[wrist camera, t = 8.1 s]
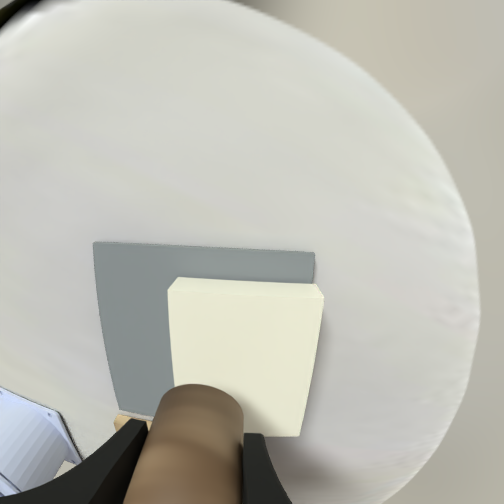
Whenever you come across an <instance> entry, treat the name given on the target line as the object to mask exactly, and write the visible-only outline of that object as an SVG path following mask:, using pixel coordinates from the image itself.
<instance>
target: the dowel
mask: <svg viewBox="0 0 504 504" xmlns="http://www.w3.org/2000/svg"><path fill="white" fill-rule="evenodd" d="M243 429H244V415H243V411H242V408H241V407H240V405H239V404H238V402H237V401H236V400H235V399H234V398H233V397H232V396H230V395H229V394H227V393H226V392H224V391H222V390H220V389H218V388H215V387H212V386H208V385H203V384H184V385H179V386H176V387H174V388H172V389H170V390H168V391H167V392H166V393H165V394H164V395H163V396H162V398H161V400H160V403H159V405H158V408H157V411H156V413H155V416H154V419H153V421H152V424H151V427H150V429H149V432H148V435H147V437H146V440H145V443H144V445H143V448H142V451H141V454H140V456H139V459H138V462H137V465H136V468H135V470H134V473H133V476H132V479H131V482H130V484H129V487H128V490H127V493H126V496H125V499H124V502H123V504H242V491H243V467H242V463H243Z"/></svg>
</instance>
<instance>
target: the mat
mask: <svg viewBox="0 0 504 504" xmlns="http://www.w3.org/2000/svg"><path fill="white" fill-rule="evenodd" d="M93 256H94V269H95V280H96V289H97V298H98V306H99V313H100V320H101V326H102V333H103V338H104V344H105V349H106V355H107V360H108V364H109V369H110V374H111V378H112V382H113V386H114V390H115V394H116V398H117V402H118V406H119V409H120V410H123V411H128V412H133V413H138V414H143V415H148V416H153V417H154V416H155V413H156V411H157V408H158V405H159V403H160V400H161V398H162V396H163V395H164V394H165V393H166V392H167V391H168V390H170V389H172V388H174V387H175V385H174V375H173V365H172V354H171V342H170V328H169V312H168V291H167V290H168V289H169V287H170V286H171V285H172V284H173V283H174V281H175V280H176V279H177V278H178V277H186V278H202V279H219V280H236V281H256V282H278V283H302V284H312V279H313V270H314V260H315V253H314V252H298V251H279V250H259V249H240V248H220V247H199V246H179V245H158V244H138V243H117V242H94V243H93Z"/></svg>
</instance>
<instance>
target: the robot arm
mask: <svg viewBox="0 0 504 504" xmlns="http://www.w3.org/2000/svg"><path fill="white" fill-rule="evenodd" d="M148 432H149V431H148V427H147V422H146V421H144V420H139V419H134V418H131V419H129V420H128V421H127V422H126V423H125V424H124V425H123V426H122V427H121V428H120V429H119V430H118V431H117V432H116V433H115V434H114V435H113V436H112V437H111V438H110V439H109V440H108V441H106V442H105V443H104V444H103V445H102V446H101V447H100V448H99V449H97V450H96V451H95V452H94V453H93V454H91V455H90V456H89V457H87V458H86V459H85V460H84V461H81V459H80V457H79V455H78V453H77V451H76V449H75V447H74V445H73V443H72V441H71V439H70V437H69V435H68V433H67V431H66V428H65V426H64V424H63V422H62V419H61V417H60V415H59V414H58V413H57V412H56V411H54V410H51V409H49V408H46V407H44V406H41V405H39V404H36V403H34V402H31V401H29V400H27V399H24V398H22V397H20V396H18V395H16V394H13V393H11V392H9V391H7V390H5V389H3V388H1V387H0V504H123V502H124V499H125V496H126V493H127V490H128V487H129V484H130V482H131V479H132V476H133V473H134V470H135V468H136V465H137V462H138V459H139V456H140V454H141V451H142V448H143V445H144V443H145V440H146V437H147V435H148ZM64 460H66V461H68V462H71V463H73V464H76V465H77V466H75V467H74V468H72V469H71V470H69V471H68V472H66V473H64V474H63V475H61V476H59V477H57V478H55V479H53V478H54V476H55V475H56V473H57V471H58V469H59V468H60V466H61V465H62V463H63V461H64ZM242 467H243V491H242V503H243V504H292V502H291V501H290V499H289V498H288V496H287V494H286V492H285V491H284V489H283V487H282V485H281V483H280V481H279V479H278V477H277V474H276V472H275V470H274V468H273V465H272V463H271V460H270V457H269V455H268V452H267V448H266V445H265V440H264V435H263V434H261V433H244V442H243V463H242Z"/></svg>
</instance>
